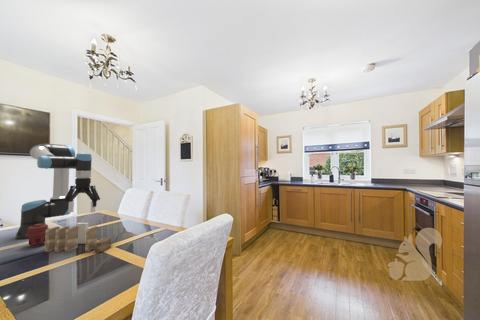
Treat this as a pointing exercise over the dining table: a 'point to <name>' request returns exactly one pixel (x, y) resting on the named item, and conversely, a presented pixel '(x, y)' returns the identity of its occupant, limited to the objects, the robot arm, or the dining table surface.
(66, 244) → the domino
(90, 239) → the domino
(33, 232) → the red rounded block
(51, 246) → the domino
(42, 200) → the robot arm
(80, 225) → the domino
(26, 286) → the dining table surface
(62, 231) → the domino
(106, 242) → the stop block
